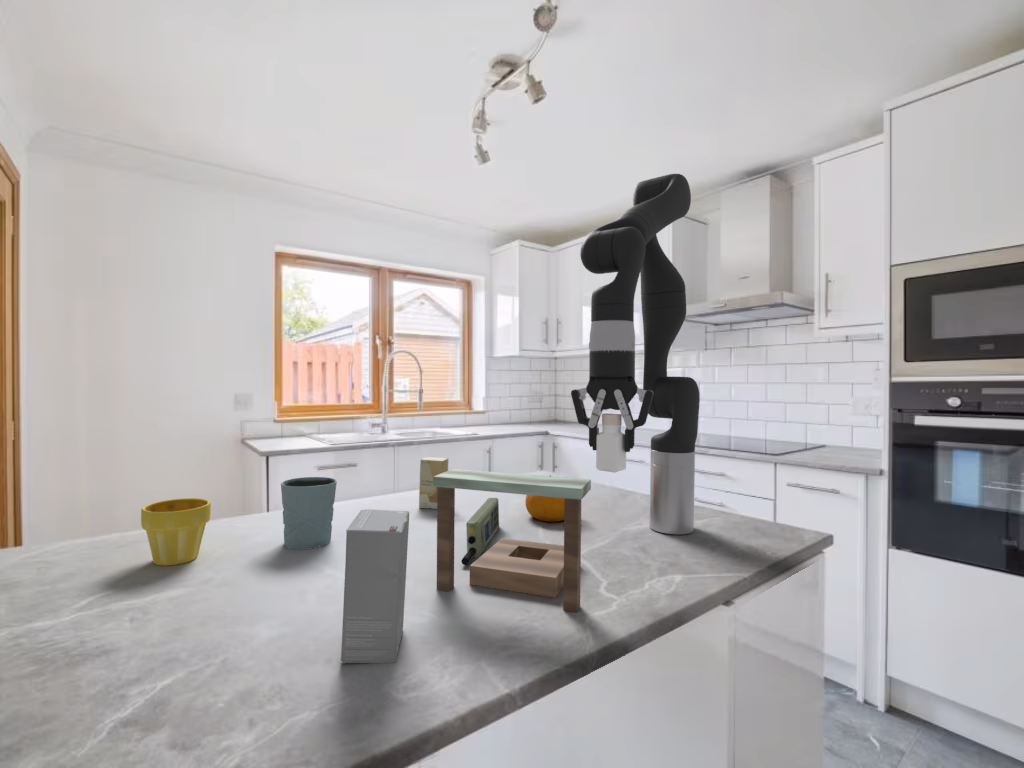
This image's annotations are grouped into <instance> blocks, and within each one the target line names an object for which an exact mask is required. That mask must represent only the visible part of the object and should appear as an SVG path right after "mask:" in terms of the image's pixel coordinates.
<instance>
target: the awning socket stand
mask: <svg viewBox="0 0 1024 768" xmlns="http://www.w3.org/2000/svg"><path fill="white" fill-rule="evenodd" d="M591 484H592V480H591V478H590V479H589V478H576V477H575V478H574V477H560V476H552V475H536V474H535V475H534V474H523V473H522V474H521V473H510V472H498V471H497V472H496V471H486V470H485V471H484V470H471V469H469V470H468V469H458V468H452V469H450V470H449V469H448V471H447V472H444V473H441V474H439V475H436V476H433V486H434V487H437V509H436V511H437V512H436V516H437V517H436V590H437V589H439V590H438V591H443V590H445V592H449V591H451V590H452V589H453V588H454V587H455V516H456V515H455V514H456V513H455V512H456V511H455V509H456V508H455V506H456V505H455V504H456V503H455V501H456V498H455V497H456V493H455V492H456V489H459V490H470V491H480V492H491V493H492V492H493V493H503V494H515V495H524V496H525V495H535V496H546V497H557V498H565V503H564V520H563V523H564V524H563V525H564V526H563V545H561V544H554V543H546V542H536V541H528V540H520V539H512V538H503V537H502V538H500V539H499V540H498V541H497V542H496V543H495V544H493V545H492V546H491V547H490V548H489V549H488V550H487V551H485V552H484V553H483V554H481V555H480V556H478V558H477V559H476V560H475V561H474V562H472V563H471V564H470V565H469V586H470V585H472V586H476V585H477V587H482V586H483V588H489V587H492V588H491V589H495V588H496V590H504V591H508V590H509V592H516V593H521V592H522V594H527V593H528V595H535V596H541V597H549V598H557V596H558V595H559V594H560V592H561V590H562V588H563V592H562V593H563V594H562V595H563V601H562V603H563V604H562V606H563V607H562V608H563V609H562V610H563V611H568V612H573V613H578V612H579V609H580V607H581V567H582V566H581V560H582V558H581V557H582V554H581V553H582V551H581V550H582V500H583V499H584V498H585V496H586V495H587V494H588V493H589V492H590V491H591V490H592V489H591V487H592V485H591ZM484 586H485V587H484ZM452 587H453V588H452Z"/></svg>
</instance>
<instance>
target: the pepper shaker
mask: <svg viewBox="0 0 1024 768" xmlns="http://www.w3.org/2000/svg"><path fill="white" fill-rule="evenodd" d="M622 419H623V417H622V415H621V413H612V412H611V413H609V412H608V413H606V412H605V413H602V414H601V425H602V430H601V432H599V434H597V447H596V450H595V453H596V460H595V461H596V462H595V463H596V464H595V465H596V466H595V467H596V469H597V470H598V471H602V472H606V473H607V472H609V473H613V474H615V473H618V472H622V471H624V470H626V468H627V452H625V433H624V432H622Z"/></svg>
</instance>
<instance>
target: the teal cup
mask: <svg viewBox="0 0 1024 768" xmlns="http://www.w3.org/2000/svg"><path fill="white" fill-rule="evenodd" d="M280 488H281V489H280V491H281V492H280V493H281V504H282V509H283V510H282V521H283V523H282V524H283V525H284V527H283V542H284V543H283V544H284V546H285V547H286V548H287V549H291V550H309V548H311V549H316V548H315V547H317V548H320V547H319V546H321V547H323V546H322V545H324V546H326V545H327V543H328V544H329V543H330V542H331V540H332V531H333V527H332V526H333V525H332V522H333V519H334V511H335V509H334V505H335V500H336V492H337V479H335V478H332V477H326V476H323V477H322V476H321V477H320V476H311V477H310V476H307V477H297V478H291V479H286V480H283V481H282V482H280ZM325 544H326V545H325Z"/></svg>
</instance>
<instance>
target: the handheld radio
mask: <svg viewBox="0 0 1024 768" xmlns="http://www.w3.org/2000/svg"><path fill="white" fill-rule="evenodd" d="M499 505H500V504H499V498H498V497H489V498H487V499H486V500H485V501H484V502H483V503H482V504H481V506H480V507H479V508H478V509H477V510H476V511H475V512H474V513H473V515H472V516H471V517H470V518H469V519H468V520H467V522H466V524H465V525H466V526H465V527H466V553H465V555H464V556H462V558H461V564H462V565H463V566H467V565H468V564H469V563H470V562H471V560H472V558H473V557H475V556H478V557H481V556H482V553H483V552H484V550H485V548H486V547H487V545H489V543H490V541H491V539H492V538H493V536H494V535H495V534H494V533H496V532H497V531H498V529H499V527H500V515H499V514H500V508H499V507H500V506H499ZM496 530H497V531H496Z"/></svg>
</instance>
